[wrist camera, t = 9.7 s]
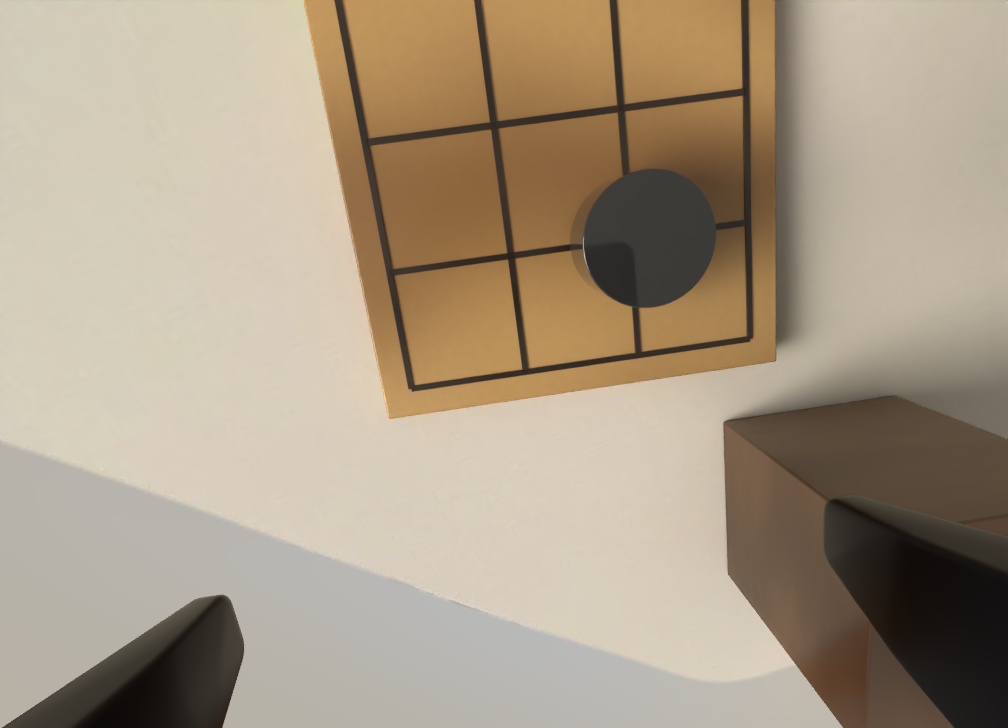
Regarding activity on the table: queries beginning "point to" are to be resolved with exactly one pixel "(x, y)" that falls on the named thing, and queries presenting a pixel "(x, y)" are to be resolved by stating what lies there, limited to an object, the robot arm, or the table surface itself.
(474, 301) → the board
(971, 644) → the robot arm
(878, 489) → the stone stand
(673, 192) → the game stone
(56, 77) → the table surface
